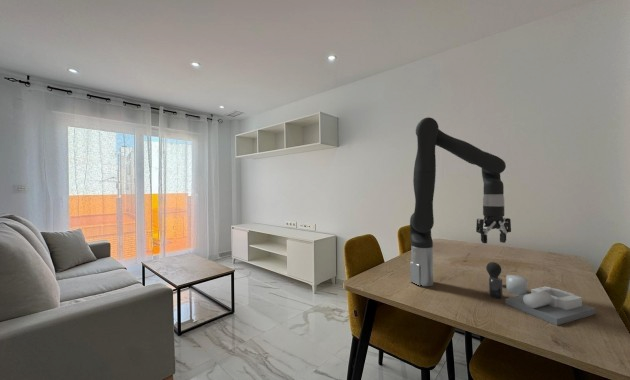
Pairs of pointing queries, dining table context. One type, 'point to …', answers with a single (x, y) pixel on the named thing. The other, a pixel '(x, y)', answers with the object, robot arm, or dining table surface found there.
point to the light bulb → (493, 269)
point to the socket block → (551, 305)
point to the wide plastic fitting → (516, 284)
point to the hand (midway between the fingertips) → (493, 242)
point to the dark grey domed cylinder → (495, 287)
